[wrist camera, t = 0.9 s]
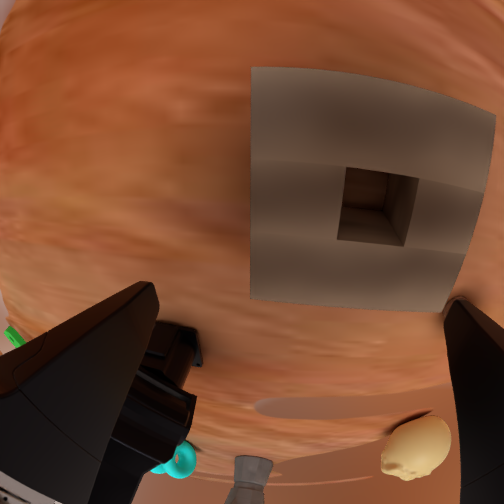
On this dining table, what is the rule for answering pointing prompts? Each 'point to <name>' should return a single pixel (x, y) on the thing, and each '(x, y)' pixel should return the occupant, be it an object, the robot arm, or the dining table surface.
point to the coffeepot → (249, 480)
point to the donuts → (179, 462)
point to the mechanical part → (14, 337)
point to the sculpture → (416, 448)
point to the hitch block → (332, 186)
